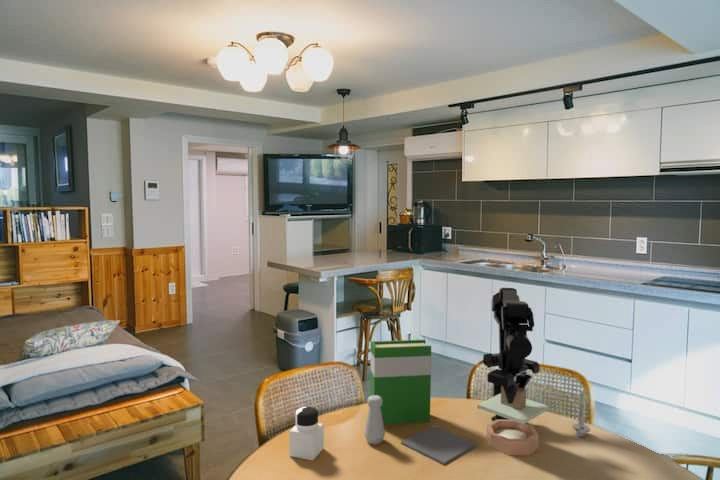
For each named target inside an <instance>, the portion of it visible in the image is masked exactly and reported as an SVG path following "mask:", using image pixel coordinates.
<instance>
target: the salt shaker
mask: <svg viewBox="0 0 720 480" xmlns="http://www.w3.org/2000/svg"><path fill="white" fill-rule="evenodd" d="M366 402H367V405H368V406H369V407H368V411H367V412H368V413H367V419H366V423H365V428H364V432H363V433H364V437H365V438H366V441H367V442H368V443H369V444H370V445H374V446H375V445H376V446H377V445H380V444H382V443H383V440H384V438H385V436H386V431H385V425H383V419H382V414H381V408H380V406H382V403H383V400H382V398H381V397H380V396H378V395H372V396H370V395H369V396H368V397H367V401H366Z"/></svg>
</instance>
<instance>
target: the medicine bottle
mask: <svg viewBox="0 0 720 480" xmlns="http://www.w3.org/2000/svg"><path fill="white" fill-rule="evenodd" d="M324 432H325V427H324V424H323V423H322V422H319V411H318V409H316V408H315V407H312V406H303V407H300V408H298V409H296V411H295V425H294V426H293V427H292V428H291V429H290V430H289V433H288V435H289V436H288V443H289V447H288V448H289V452H288V455H289V457H293V458H296V459H297V458H298V459H301V460H308V461H311V462H312V461H314V460H315V459H316V458H317V456H318V455H319V454H320V453H321V452H322V451H323V450H324V447H325V446H324V445H325V439H324V434H325V433H324Z"/></svg>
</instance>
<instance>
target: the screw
mask: <svg viewBox="0 0 720 480" xmlns="http://www.w3.org/2000/svg"><path fill="white" fill-rule="evenodd" d="M577 419H578V420H577V423H574V424H572V426H571V428H572V429H573V430H574V431H575V434H576V436H578V437H580V438H581V437H582V438H584V437H586V436H587V433H590V432H591V428H590V427H589V426H588V425H586V422H585V420H586V393H585V392H583V391H581V392H580V393H579V402H578V416H577Z"/></svg>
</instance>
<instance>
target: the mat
mask: <svg viewBox="0 0 720 480" xmlns="http://www.w3.org/2000/svg"><path fill="white" fill-rule="evenodd" d="M400 444H401V445H403V446H404V447H406V448H408V449H411V450H413V451H415V452H417V453H418V454H421V455H423V456H426V457H427V458H429V459H431V460H433V461H435V462H437V463H439V464H441V465H442V466H445V465H446V464H448V463H449V462H451V461H453V460H455V459H456V458H459V456H462V455H464V454H465V453H466V452H468V451H470V450H472V449H473V448H475V447H477V445H478V444H477V442H474V441H472V440H470V439H467V438H464V437H462V436H460V435H457V434H455V433H453V432H451V431H449V430H446V429H443V428H441V427H439V426H437V425H432V426H430V427H429V428H426V429H424V430H422V431H419V432H417V433H415V434H414V435H411V436H410V437H407V438H405V439H403V440H402V441H400Z"/></svg>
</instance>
